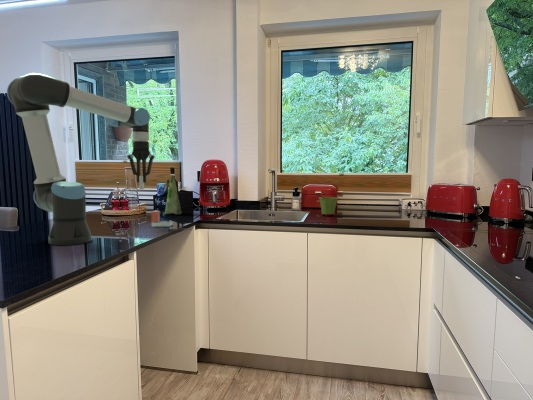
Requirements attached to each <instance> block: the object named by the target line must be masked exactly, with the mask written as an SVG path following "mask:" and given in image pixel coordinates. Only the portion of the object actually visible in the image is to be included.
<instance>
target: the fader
mask: <svg viewBox="0 0 533 400" xmlns="http://www.w3.org/2000/svg"><path fill="white" fill-rule="evenodd" d="M150 214H151V216H150V217H151V218H150V219H151V223H152V222H158V221H161V219H160V218H161V217H160V214H161V213H160V210H152V211H151V213H150Z"/></svg>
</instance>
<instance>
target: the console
mask: <svg viewBox="0 0 533 400" xmlns="http://www.w3.org/2000/svg"><path fill="white" fill-rule="evenodd" d="M172 223H173V222H172V221H171V220H169V221H168V220H160V221H158V222H152V221H151V227H155V228H156V227H157V228H158V227H161V228H163V227H166V228H169V227H172V225H173V224H172Z"/></svg>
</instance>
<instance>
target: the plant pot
mask: <svg viewBox="0 0 533 400" xmlns="http://www.w3.org/2000/svg"><path fill="white" fill-rule="evenodd" d="M318 199H319V203H320V208H321V215H322V214H334V215H335V211H336V206H337V201H338V199H339V198H338V197H334V196H333V197H332V196H321V197H318Z"/></svg>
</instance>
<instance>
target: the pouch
mask: <svg viewBox="0 0 533 400" xmlns="http://www.w3.org/2000/svg"><path fill="white" fill-rule="evenodd" d="M167 185H168V188H167V194H166V195H167V196H166V197H167V198H166V204H165V209H164V215H181V214H182V209H181V203H180V199H179V198H180V197H179V194H178V189H177V188H178V187H177V184H176V178H175V176H174V174H170V173H169V175H168V183H167Z"/></svg>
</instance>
